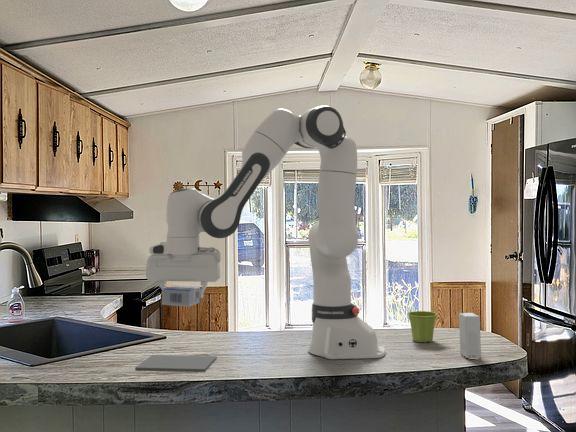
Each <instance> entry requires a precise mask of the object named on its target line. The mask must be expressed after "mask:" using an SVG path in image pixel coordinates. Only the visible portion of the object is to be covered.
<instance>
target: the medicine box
mask: <svg viewBox="0 0 576 432" xmlns="http://www.w3.org/2000/svg"><path fill="white" fill-rule="evenodd" d="M200 290H201V286H190V285H189V286H187V285H173V286H171V285H170V286H169V287H166V288H164V289H163V291H162V290H161V291H162V296H161V305H162V306H165V305H166V306H176V307H192V306H194V305H197V304H199V303H200V302H201V298H197V291H200Z"/></svg>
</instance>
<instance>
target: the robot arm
mask: <svg viewBox="0 0 576 432" xmlns="http://www.w3.org/2000/svg"><path fill="white" fill-rule="evenodd" d="M346 133H347V131H346V129H345V126H344V121H343V119H342V116H341V114H340V113H339V111H338V109H336V108H334V107H332V106H329V105H319V106H316V107H313V108H309V109H307V110H306V111H305V112H303V113H301V114H299V115H296V114H294V113H293V112H292V111H290V110H288V109H286V108H276V109H274V110H273V111H272V112H270V114H269V115H267V117H265V118H264V120H263V121H262V122H261V123H260V124H259V125H258V126H257V127H256V128H255V130H254V131H253V132H252V134H251V135H250V137H249V138H248V139H247V142H246V144H245V145H244V147H243V149H242V152H241V158H242V159H241V160H242V163H241V167H240V169H239V171H238V173H237V174H236V175H235V176H234V178H233V180H232V181H231V182H230V184H229V185H228V187H227V188H226V190H225V191H224V193H223V194H222V195H220V196H219V197H218V198H216V199H215V198H212V197H210V196H208V195H206V194H204V193H202V192H201V191H199V190H198V189H196V187H195V188H194V187H187V188H186V187H185V188H180V189H176V190H174V191H172V192H171V193H170V194H169V195H168V197H167V203H166V223H167V233H166V241H163V242H160V243H157V244H155V245H152V246H150V247H149V249H148V251H149V254H150V255H149V256H148V257H147V261H146V264H145V265H146V267H145V278H146V279H147V281H149V282H158V285H159V287H160V289H161V291H163V289H164V288H167V287H166V285H167V282H194V283H195V282H200V291H197V298H200V299H203V298H204V291H206V288H207V287H208V282H209V283H212V282H213V283H215V282H218V281H219V279H221V268H220V267H221V266H220V262H221V252H220V250H219V249H217V248H215V247H212V246H211V247H204V246H203V247H202V246H201V247H200V235H201V233H206V234H207V235H208V236H210V237H212V238H215V239H225V238H228V237H231V236H232V235H233V234H234V233H235V232H236V231H237V229H238V228H239V224H240V221H241V218H242V214H243V213H242V212H243V210H244V208H245V205H246V204H247V202H248V201H249V199H250V198H251V197H252V195H253V194H254V192H255V191H256V189H257V188H258V187H259V184H261V182H262V181H263V180H264V179H265V178H267V176H268V175H269V174H270V173H271V172H272V171H273V170H274V169H275V168H276V167H277V166H278V165H279V164H280V163H281V161H282V160H283V158H284V157H285V156H286V155H287V153H288V151H289V150H290V148H292V146H294V144H295V145H296V146H299V147H301V148H305V149H313V148H315V149H317V150H318V152H319V156H320V166H319V171H318V172H319V173H318V185H317V192H316V200H317V208H318V221H316V222H315V223H314V224H313V225H312V226H311V228H310V230H308V231H309V232H308V238H307V239H308V244H309V257H310V263H311V270H312V283H313V284H312V285H313V292H312V295H313V302H312V305H311V323H312V329H311V330H312V332H311V338H310V344H309V347H308V349H307V351H308V352H309V353H310V354H312V355H315V356H319V357H323V358H324V359H328V360H344V359H345V360H348V359H349V360H350V359H379V358H383V357H384V356H385V355H386V348H385V347H384V345H382V344H379V342H378V337H377V333H376V331H375V329H374V328H373V327H371V326H370V325H369V324H368V323H367V322H366V321H365V320H362V319H361V317H359V313H360V309H359V307H358V306H357V305H356V304H353V303H352V294H351V291H352V288H351V287H352V284H351V283H352V282H351V281H352V279H351V273H350V270H349V266H348V260H347V257H348V256H350V255H351V254H352V253H354V251H355V250H356V249H357V247H358V242H359V237H358V233H357V229H356V228H357V227H356V225H357V224H356V211H355V210H356V209H355V196H356V186H357V177H358V176H357V175H358V149H357V144H356V142H355V140H353V139H352V138H350V137H349V136H346ZM201 286H202V287H201Z"/></svg>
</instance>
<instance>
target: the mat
mask: <svg viewBox="0 0 576 432" xmlns="http://www.w3.org/2000/svg"><path fill="white" fill-rule="evenodd" d="M217 359H218V358H217V356H216V355H214V356H211V355H175V354H174V355H172V354H167V355H166V354H151V355H149V357H147V358H146V359H145V360H143V361H142V362H141V363H139V364H138V365H136V366H135V367H134V368H135V371H169V372H171V371H173V372H174V371H175V372H206V371H207V370H208V369H209V368H210V367H211V366H212V365H213V363H214V362H215V361H216V360H217Z"/></svg>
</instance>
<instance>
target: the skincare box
mask: <svg viewBox="0 0 576 432" xmlns="http://www.w3.org/2000/svg"><path fill="white" fill-rule="evenodd" d="M458 325H459V327H458V328H459V330H458V331H459V346H460V347H459V350H460V351H459V352H460V353H461V354H462V355H463V356H462V355H461V354H460V355H461V356H462V357H464V356H465V357H466V358H481V359H482V343H481V316H479V315H477V314H475V313H474V312H459V313H458ZM465 357H464V358H465ZM466 358H465V359H466Z"/></svg>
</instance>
